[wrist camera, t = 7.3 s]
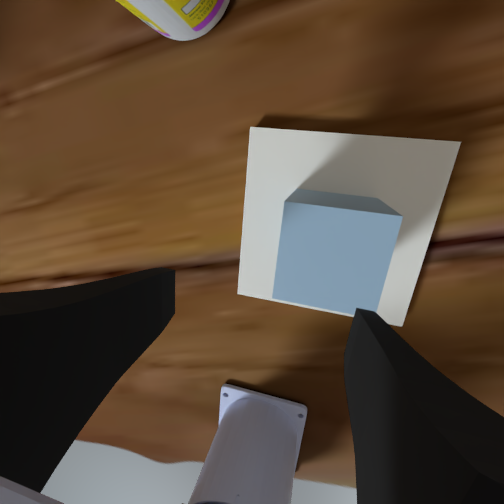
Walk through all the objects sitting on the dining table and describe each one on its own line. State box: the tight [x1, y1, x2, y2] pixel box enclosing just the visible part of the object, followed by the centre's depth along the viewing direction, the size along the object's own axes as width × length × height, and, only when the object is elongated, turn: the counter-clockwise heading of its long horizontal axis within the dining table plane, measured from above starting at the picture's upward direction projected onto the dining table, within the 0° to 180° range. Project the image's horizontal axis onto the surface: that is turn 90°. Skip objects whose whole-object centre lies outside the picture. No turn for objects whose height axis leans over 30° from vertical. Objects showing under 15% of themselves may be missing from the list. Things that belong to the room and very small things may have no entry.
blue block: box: [272, 189, 403, 315], centre depth 16 cm, size 5×5×6 cm
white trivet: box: [238, 127, 461, 327], centre depth 19 cm, size 12×12×1 cm
